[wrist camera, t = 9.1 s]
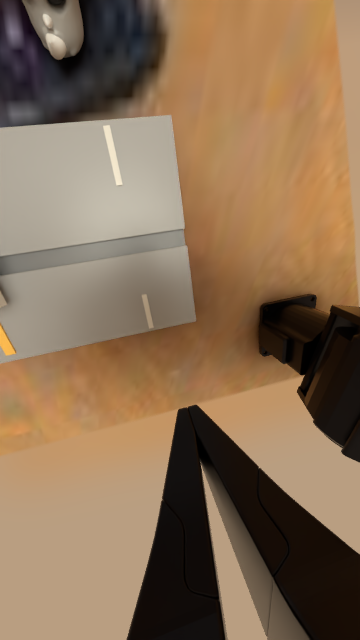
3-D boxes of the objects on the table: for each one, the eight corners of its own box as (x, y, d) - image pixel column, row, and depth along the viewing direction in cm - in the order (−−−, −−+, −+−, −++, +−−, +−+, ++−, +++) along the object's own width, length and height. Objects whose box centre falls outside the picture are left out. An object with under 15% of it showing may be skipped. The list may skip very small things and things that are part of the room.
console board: (165, 136, 14) (171, 113, 12) (189, 312, 20) (196, 321, 17) (-156, 164, 12) (-234, 143, 9) (-29, 357, 17) (-57, 376, 15)
